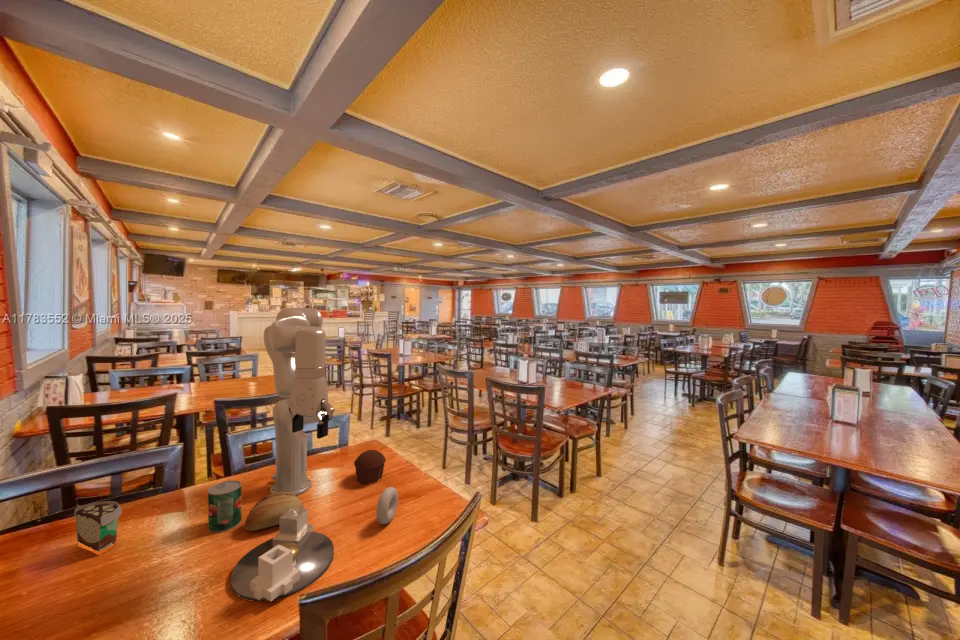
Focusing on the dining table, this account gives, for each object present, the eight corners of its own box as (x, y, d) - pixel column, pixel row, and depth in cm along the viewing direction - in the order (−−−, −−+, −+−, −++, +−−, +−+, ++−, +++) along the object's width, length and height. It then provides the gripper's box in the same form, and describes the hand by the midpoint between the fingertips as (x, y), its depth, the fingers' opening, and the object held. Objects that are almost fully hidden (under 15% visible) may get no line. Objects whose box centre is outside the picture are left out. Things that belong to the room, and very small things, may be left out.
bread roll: (243, 523, 103) (243, 496, 102) (300, 507, 112) (300, 482, 111) (245, 541, 95) (245, 512, 95) (306, 522, 104) (306, 496, 104)
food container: (133, 542, 94) (133, 505, 93) (102, 557, 88) (101, 518, 87) (105, 531, 98) (105, 496, 97) (74, 545, 92) (73, 508, 92)
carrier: (209, 580, 81) (209, 542, 81) (294, 527, 101) (294, 496, 101) (272, 616, 72) (272, 574, 72) (352, 550, 92) (352, 517, 92)
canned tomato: (247, 520, 104) (247, 484, 104) (218, 536, 97) (218, 496, 96) (231, 513, 107) (231, 478, 107) (202, 527, 100) (201, 490, 100)
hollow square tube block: (243, 591, 77) (243, 560, 77) (280, 565, 85) (281, 536, 85) (269, 606, 73) (269, 574, 73) (306, 577, 81) (306, 548, 81)
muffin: (379, 487, 125) (380, 459, 125) (348, 486, 125) (349, 458, 125) (389, 471, 137) (389, 446, 136) (360, 470, 137) (361, 445, 137)
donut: (384, 532, 100) (385, 498, 99) (373, 531, 100) (374, 496, 100) (399, 512, 110) (400, 481, 109) (389, 511, 110) (390, 480, 110)
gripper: (276, 372, 98) (276, 433, 98) (321, 378, 90) (321, 444, 91) (300, 368, 104) (300, 425, 105) (343, 374, 97) (343, 435, 98)
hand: (309, 433), depth 98 cm, fingers open, 9 cm apart
